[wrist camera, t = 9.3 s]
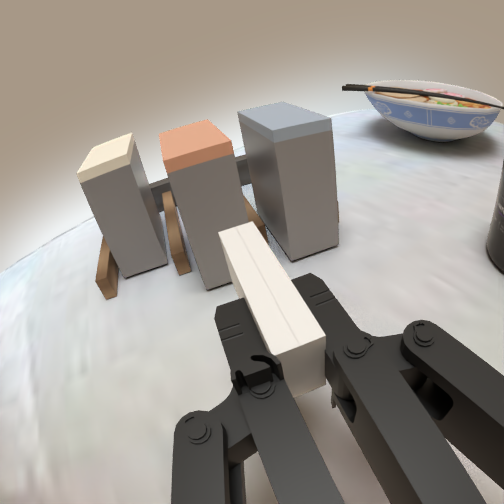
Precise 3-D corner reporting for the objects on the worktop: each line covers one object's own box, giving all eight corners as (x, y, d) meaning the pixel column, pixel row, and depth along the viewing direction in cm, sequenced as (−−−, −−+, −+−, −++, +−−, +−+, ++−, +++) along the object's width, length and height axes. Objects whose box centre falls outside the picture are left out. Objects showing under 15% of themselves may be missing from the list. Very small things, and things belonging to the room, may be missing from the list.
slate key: (338, 244, 24) (331, 118, 18) (291, 261, 24) (272, 130, 18) (296, 201, 31) (282, 101, 25) (257, 213, 30) (237, 111, 24)
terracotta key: (259, 272, 23) (231, 140, 18) (206, 290, 23) (163, 161, 17) (232, 221, 30) (207, 119, 24) (190, 235, 29) (158, 133, 23)
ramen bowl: (497, 130, 42) (499, 88, 37) (515, 178, 28) (523, 115, 24) (376, 111, 56) (373, 72, 51) (338, 147, 42) (333, 90, 37)
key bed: (338, 222, 27) (337, 191, 25) (106, 299, 24) (89, 271, 22) (279, 169, 38) (275, 146, 36) (115, 221, 35) (106, 199, 33)
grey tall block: (167, 263, 26) (126, 153, 20) (124, 277, 26) (76, 173, 20) (161, 220, 33) (132, 132, 27) (126, 232, 32) (93, 147, 26)
